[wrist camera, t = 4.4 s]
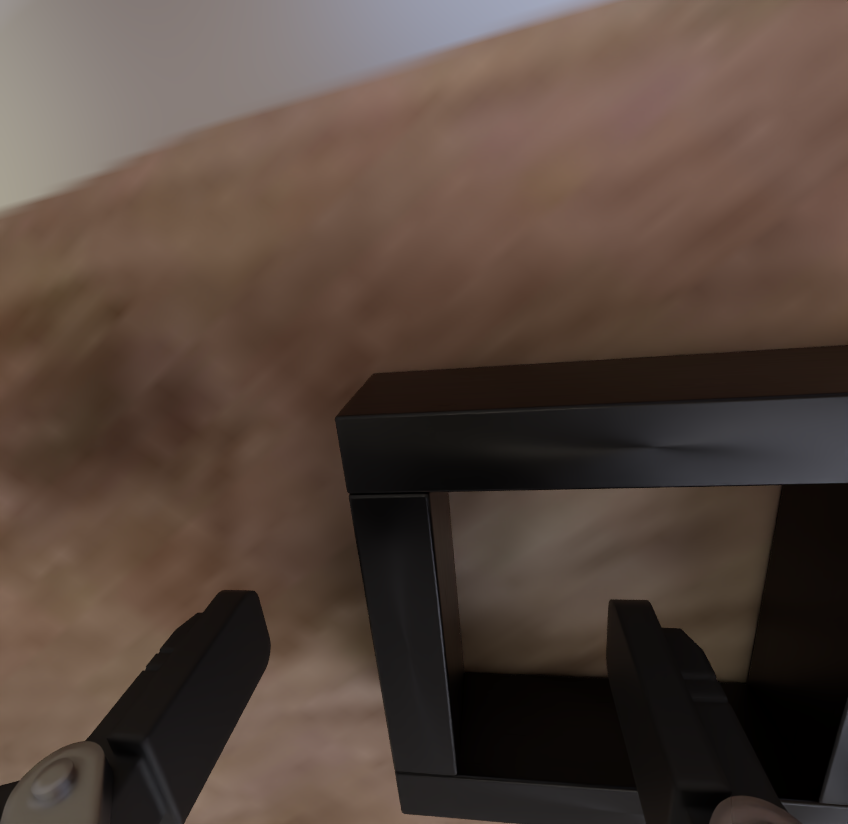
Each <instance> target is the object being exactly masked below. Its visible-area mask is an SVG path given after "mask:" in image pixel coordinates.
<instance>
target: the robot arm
mask: <svg viewBox="0 0 848 824" xmlns="http://www.w3.org/2000/svg"><path fill="white" fill-rule="evenodd" d="M270 649H271V643H270V637H269V633H268V630H267V626H266V622H265V618H264V615H263V611H262V607H261V604H260V600H259V597H258V594H257V593H256V592H255V591H247V590H222V591H220V592H219V593H218V594H217V595H216V596H215V598H214V599H213V600H212V601H211V603H210V604H209V605H208V607H207V608H206V609H205V611H204V612H203V613H197V614H195V615H194V616H193V617H191V618H190V619H189V620H188V621H186V622H185V623H184V624H182V625H181V626H180V627H179V628H177V629H176V630H175V631H174V633H173V634H172V635H171V636H170V637H169V639H168V640H167V641H166V642H165V644H164V645H163V646H162V647H161V649H160V652H159V654H156V655H155V656H154V657H153V658H152V660H151V661H150V662H149V663H148V665H147V666H146V670H145V671H142V672H141V673H140V675H139V676H138V677H137V678H136V679H135V681H134V682H133V683H132V684H131V686H130V687H129V688H128V689H127V691H126V692H125V693H124V694H123V695H122V697H121V698H120V699H119V700H118V702H117V703H116V704H115V705H114V707H113V708H112V709H111V710H110V712H109V713H108V714H107V715H106V716H105V718H104V719H103V720H102V721H101V723H100V724H99V725H98V726H97V728H96V729H95V730H94V731H93V733H92V734H91V735H90V736H89V737H88V738H87V740H86V741H83V742H77V743H73V744H70V745H67V746H65V747H63V748H61V749H59V750H57V751H55V752H53V753H52V754H50V755H48V756H47V757H45V758H44V759H43V760H41V761H40V762H39V763H37V764H36V765H35V766H34V767H33V768H32V769H31V770H30V771H29V772H28V773H27V774H26V775H25V776H24V777H23V778H22V779H21V780H20V781H16V782H12V783H9V784H5V785H1V786H0V824H184V823H185V821H186V819H187V817H188V815H189V813H190V811H191V809H192V807H193V805H194V804H195V802H196V800H197V798H198V796H199V794H200V792H201V790H202V788H203V787H204V785H205V783H206V781H207V779H208V777H209V775H210V773H211V771H212V769H213V768H214V766H215V764H216V762H217V760H218V758H219V756H220V754H221V752H222V751H223V749H224V747H225V745H226V743H227V741H228V739H229V737H230V735H231V733H232V732H233V730H234V728H235V726H236V724H237V722H238V720H239V718H240V716H241V715H242V713H243V711H244V709H245V707H246V705H247V703H248V701H249V699H250V697H251V696H252V694H253V692H254V690H255V688H256V686H257V684H258V682H259V680H260V679H261V677H262V675H263V673H264V671H265V669H266V667H267V664H268V661H269V656H270ZM606 660H607V671H608V678H609V683H610V688H611V692H612V696H613V699H614V703H615V707H616V711H617V715H618V719H619V722H620V726H621V730H622V734H623V738H624V742H625V745H626V749H627V753H628V757H629V761H630V764H631V768H632V772H633V776H634V780H635V784H636V787H637V791H638V795H639V799H640V803H641V807H642V810H643V814H644V818H645V822H646V824H802V823H801V822H800V821H799V820H797V819H796V818H795V817H794V816H792V815H791V814H789V813H788V811H787V810H786V809H785V807H784V806H783V804H782V803H781V801H780V800H779V798H778V796H777V794H776V793H775V791H774V789H773V787H772V785H771V783H770V781H769V779H768V777H767V775H766V773H765V771H764V769H763V767H762V765H761V763H760V761H759V759H758V757H757V755H756V753H755V751H754V750H753V748H752V746H751V744H750V742H749V740H748V738H747V736H746V734H745V732H744V730H743V728H742V726H741V724H740V722H739V720H738V718H737V716H736V714H735V712H734V710H733V708H732V706H731V704H729V703H728V701H727V697H726V695H725V693H724V691H723V689H722V687H721V685H720V683H719V681H717V679H716V675H715V673H714V671H713V669H712V667H711V665H710V663H709V661H708V659H707V657H706V655H705V653H704V651H703V650H702V649H701V648H700V647H699V646H698V645H697V644H696V643H695V642H694V641H693V640H692V639H691V638H690V637H689V636H688V635H687V634H686V633H685V632H684V631H683V630H682V629H680V628H661V626H660V623H659V621H658V619H657V616H656V614H655V612H654V609H653V607H652V605H651V603H650V602H649V601H648V600H617V599H611V600H610V601H609V608H608V629H607V650H606Z"/></svg>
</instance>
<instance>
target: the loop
mask: <svg viewBox="0 0 848 824" xmlns="http://www.w3.org/2000/svg"><path fill="white" fill-rule="evenodd" d="M335 422H336V428H337V434H338V440H339V446H340V452H341V458H342V464H343V470H344V476H345V482H346V488H347V492H348V493H349V502H350V508H351V514H352V520H353V526H354V532H355V538H356V544H357V549H358V555H359V561H360V567H361V573H362V579H363V585H364V591H365V597H366V603H367V609H368V615H369V621H370V627H371V633H372V639H373V645H374V650H375V656H376V662H377V668H378V674H379V680H380V686H381V692H382V698H383V704H384V710H385V716H386V722H387V728H388V734H389V740H390V746H391V751H392V757H393V763H394V769H395V775H396V781H397V787H398V793H399V799H400V805H401V811H402V813H404V814H412V815H423V816H435V817H447V818H458V819H470V820H481V821H493V822H504V823H516V824H646V822H645V818H644V814H643V810H642V807H641V803H640V799H639V795H638V791H637V787H636V784H635V780H634V776H633V772H632V768H631V764H630V761H629V757H628V753H627V749H626V745H625V742H624V738H623V734H622V730H621V726H620V722H619V719H618V715H617V711H616V707H615V703H614V699H613V696H612V692H611V688H610V683H609V678H588V677H562V676H537V675H511V674H485V673H464V667H463V656H462V644H461V633H460V621H459V610H458V599H457V587H456V576H455V564H454V553H453V542H452V530H451V519H450V507H449V496H448V492H461V491H510V490H560V489H610V488H660V487H710V486H760V485H783V490H782V495H781V501H780V506H779V512H778V517H777V523H776V528H775V534H774V539H773V545H772V550H771V556H770V561H769V567H768V572H767V578H766V584H765V589H764V595H763V600H762V606H761V611H760V617H759V622H758V628H757V633H756V639H755V644H754V650H753V655H752V661H751V666H750V672H749V677H748V684H741V683H720V685H721V687H722V689H723V691H724V693H725V695H726V697H727V701H728V703H729V704H731V706H732V708H733V710H734V712H735V714H736V716H737V718H738V720H739V722H740V724H741V726H742V728H743V730H744V732H745V734H746V736H747V738H748V740H749V742H750V744H751V746H752V748H753V750H754V751H755V753H756V755H757V757H758V759H759V761H760V763H761V765H762V767H763V769H764V771H765V773H766V775H767V777H768V779H769V781H770V783H771V785H772V787H773V789H774V791H775V793H776V794H777V796H778V798H779V800H780V801H781V803H782V804H783V806H784V807H785V809H786V810H787V811H788V813H789V814H791V815H792V816H794V817H795V818H796V819H797V820H799V821H800V822H801V823H802V824H848V345H845V346H828V347H812V348H795V349H778V350H762V351H745V352H728V353H712V354H695V355H679V356H662V357H645V358H629V359H612V360H596V361H579V362H562V363H546V364H529V365H513V366H496V367H479V368H463V369H446V370H429V371H413V372H396V373H380V374H373V375H371V377H370V378H369V379H368V380H367V381H366V382H365V383H364V385H363V386H362V387H361V388H360V389H359V390H358V391H357V393H356V394H355V395H354V396H353V397H352V398H351V400H350V401H349V402H348V403H347V404H346V405H345V406H344V408H343V409H342V410H341V411H340V412H339V413H338V414H337V416H336V417H335Z"/></svg>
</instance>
